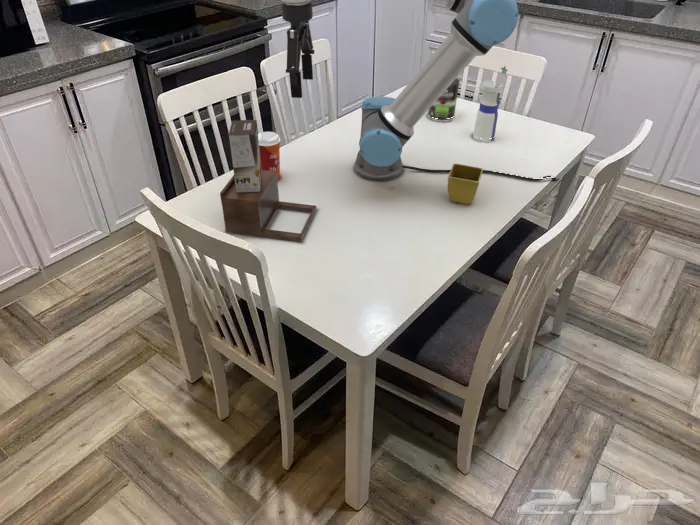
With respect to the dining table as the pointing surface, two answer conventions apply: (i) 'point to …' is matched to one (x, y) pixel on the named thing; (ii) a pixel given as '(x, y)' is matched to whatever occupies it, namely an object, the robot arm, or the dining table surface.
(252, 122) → the coffee box
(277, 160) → the paper cup
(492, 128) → the water bottle
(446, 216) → the dining table surface
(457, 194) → the flower pot
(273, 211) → the rack
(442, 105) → the coffee can
